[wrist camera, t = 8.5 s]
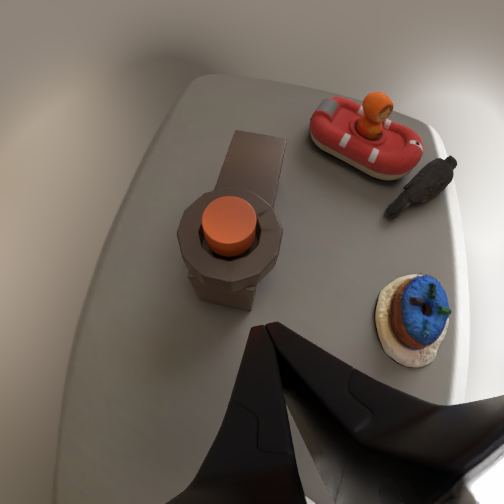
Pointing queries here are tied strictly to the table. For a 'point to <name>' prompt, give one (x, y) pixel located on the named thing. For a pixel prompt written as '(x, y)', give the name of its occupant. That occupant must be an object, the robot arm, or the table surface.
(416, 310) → the dessert
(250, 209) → the button
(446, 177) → the bird model
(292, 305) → the table surface
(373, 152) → the toy boat
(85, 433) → the table surface
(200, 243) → the brown button base
